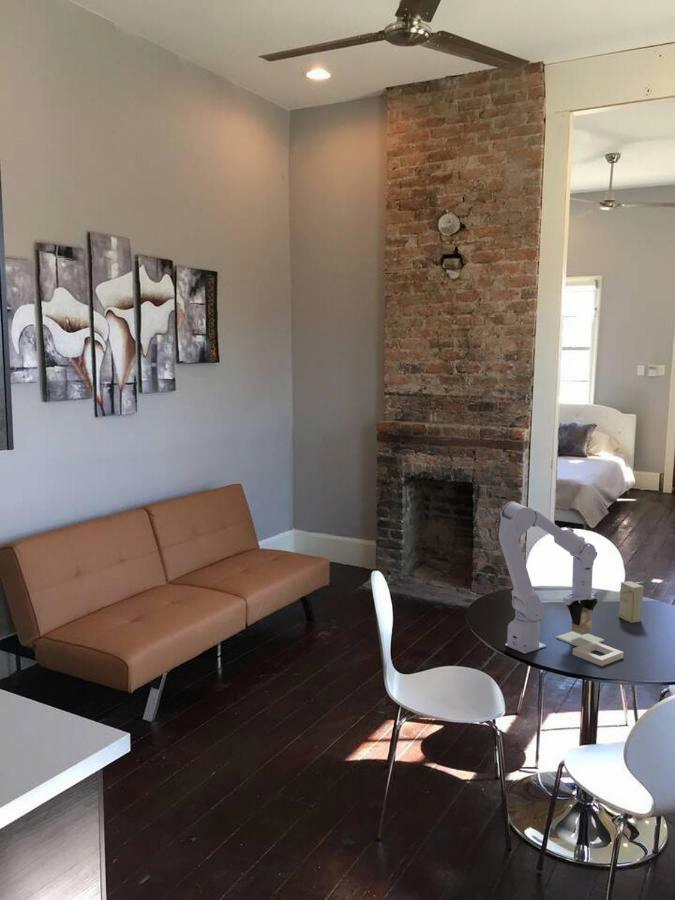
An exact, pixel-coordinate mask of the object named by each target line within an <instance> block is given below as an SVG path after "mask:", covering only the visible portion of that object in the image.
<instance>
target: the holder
mask: <svg viewBox="0 0 675 900" xmlns="http://www.w3.org/2000/svg"><path fill="white" fill-rule="evenodd" d="M594 651H597V652H599V653H602V654H604V655H598V654H594V653H593V652H594ZM624 653H625V652H624V651H622V650H619V649H616V648H614V647H612V646H608V645H606V644H603V643H602V642H601V643H598V642H596V641H593V642H591V643H588V644H585V645H582V646H579V647H577V646H575V647H574V648H572V655H573V656H576V657H578V658H580V659H582V660H585V661H586V662H587V661H588V662H590V663H592V664H595V665H597V666H600V667H604V666H606V665H608V664H611V663H614V662H616V661H619V660H621V659H624Z"/></svg>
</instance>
